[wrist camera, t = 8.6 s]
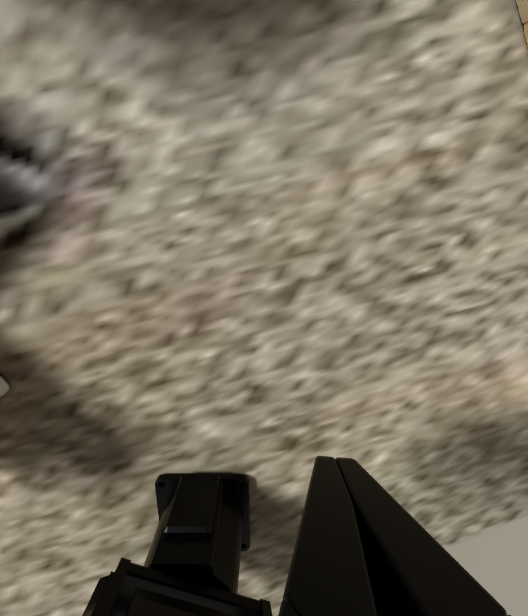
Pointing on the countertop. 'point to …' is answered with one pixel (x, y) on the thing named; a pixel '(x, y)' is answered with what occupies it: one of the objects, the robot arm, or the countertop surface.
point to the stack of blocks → (524, 15)
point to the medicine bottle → (3, 386)
